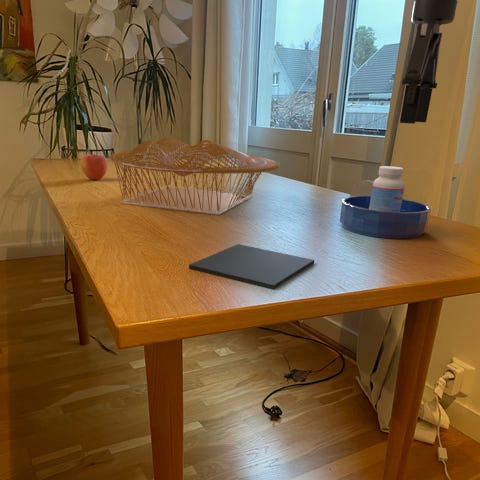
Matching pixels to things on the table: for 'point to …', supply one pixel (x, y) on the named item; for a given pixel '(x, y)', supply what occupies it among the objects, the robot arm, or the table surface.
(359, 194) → the mug
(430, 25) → the robot arm
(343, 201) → the bowl
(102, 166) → the apple
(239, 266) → the mat
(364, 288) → the table surface
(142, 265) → the table surface
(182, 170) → the basket
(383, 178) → the pill bottle
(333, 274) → the table surface
